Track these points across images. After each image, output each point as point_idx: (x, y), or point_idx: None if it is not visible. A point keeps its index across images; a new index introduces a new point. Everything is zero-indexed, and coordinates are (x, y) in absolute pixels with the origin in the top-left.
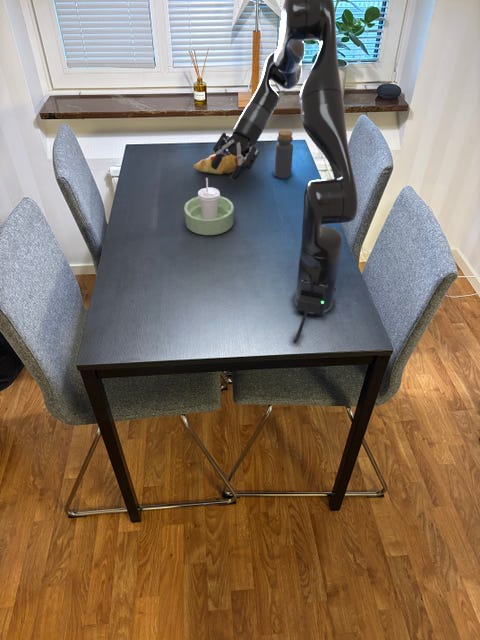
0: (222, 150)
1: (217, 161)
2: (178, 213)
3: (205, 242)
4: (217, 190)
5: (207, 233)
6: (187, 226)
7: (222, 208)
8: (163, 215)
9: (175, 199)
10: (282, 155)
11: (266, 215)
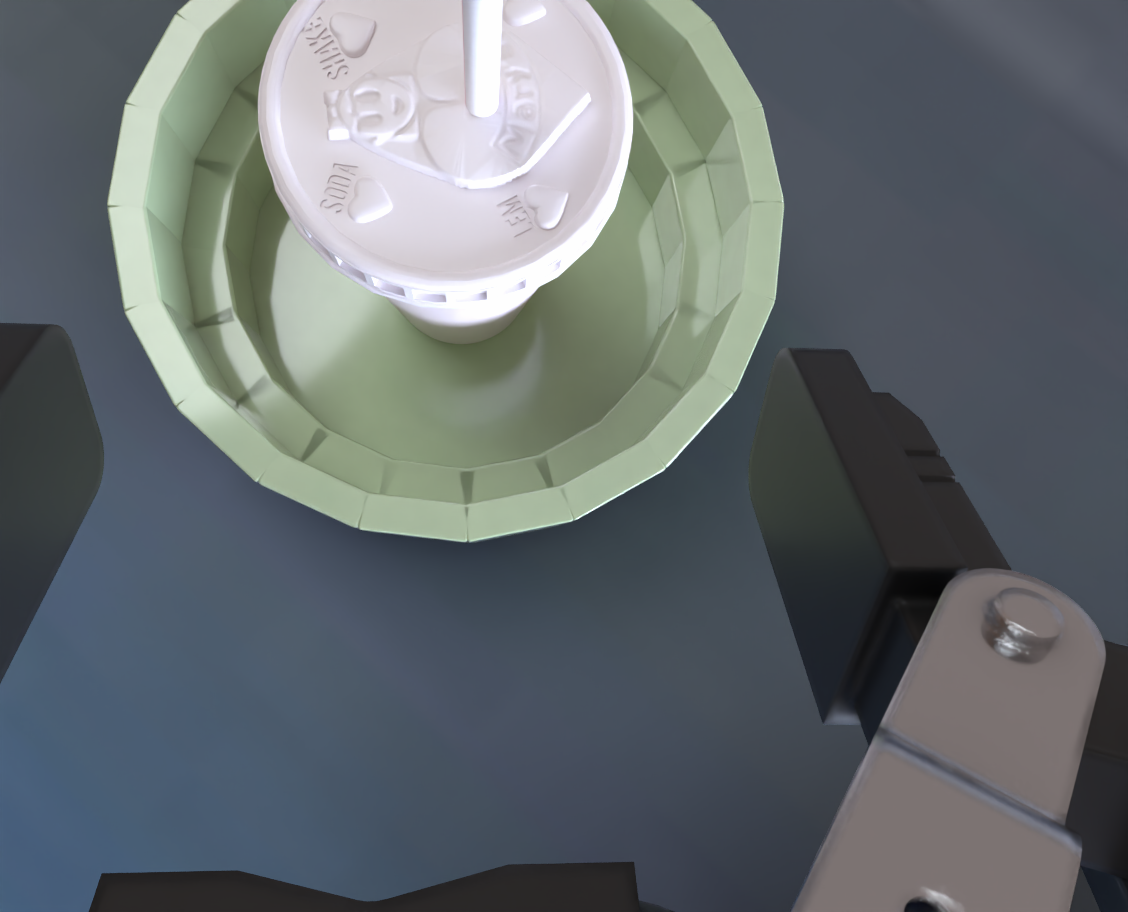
0: (906, 746)
1: (818, 527)
2: (837, 178)
3: None
4: (402, 264)
5: None
6: None
7: (466, 468)
8: (906, 49)
9: (1082, 339)
10: None
11: None
